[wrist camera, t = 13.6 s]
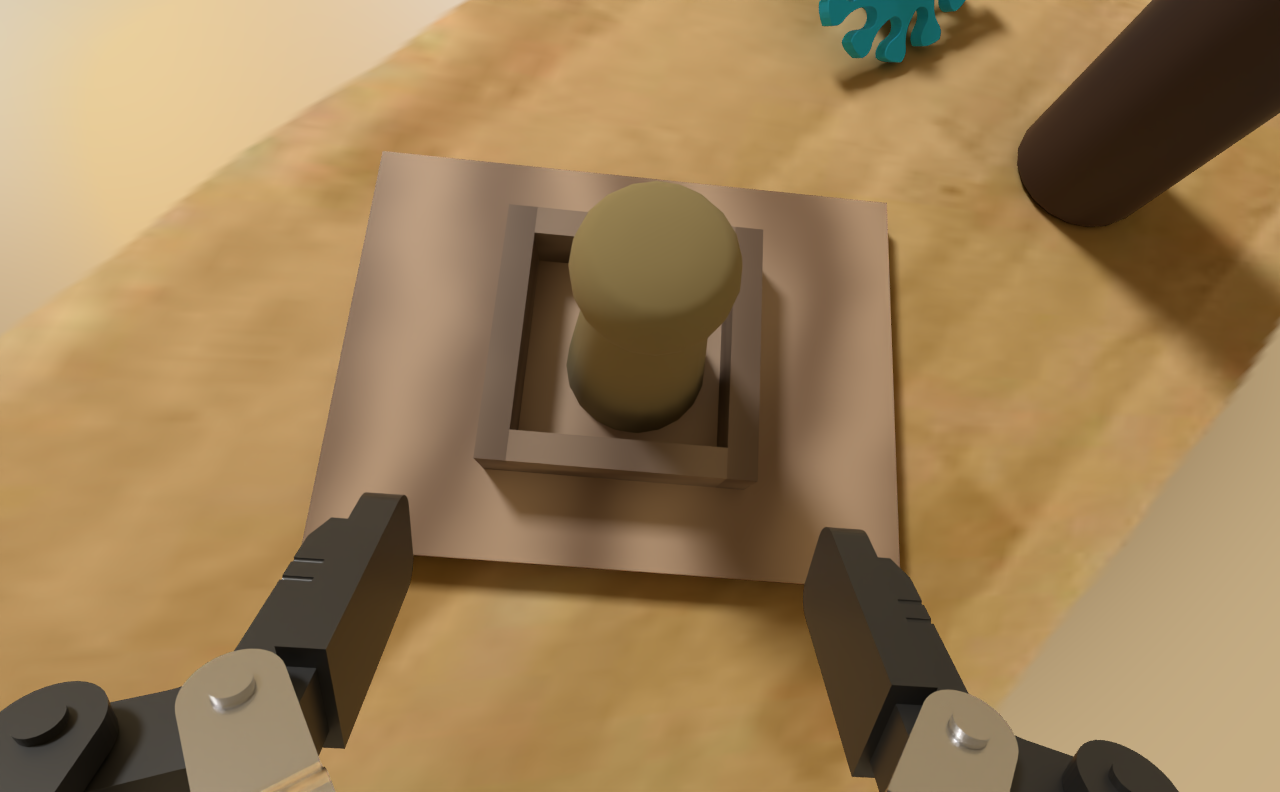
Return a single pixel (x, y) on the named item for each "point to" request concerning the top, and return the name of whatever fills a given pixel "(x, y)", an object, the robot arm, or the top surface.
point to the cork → (648, 302)
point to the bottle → (1154, 108)
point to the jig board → (569, 436)
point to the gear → (882, 5)
